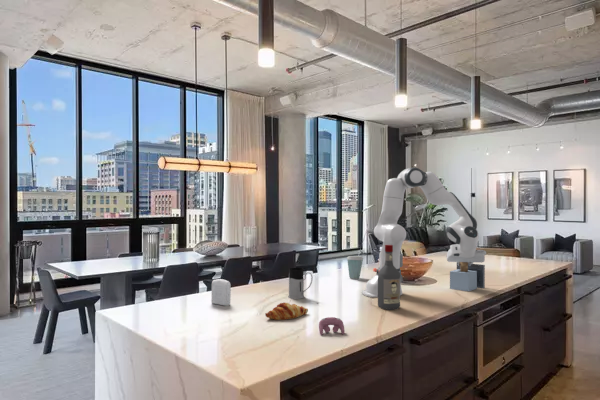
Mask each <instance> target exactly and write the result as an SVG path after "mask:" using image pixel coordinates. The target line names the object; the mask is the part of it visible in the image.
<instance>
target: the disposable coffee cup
mask: <svg viewBox="0 0 600 400" xmlns="http://www.w3.org/2000/svg"><path fill="white" fill-rule="evenodd" d="M346 260H347V269H348V275H349V279H352V280H359V279H360V277H361V271H362V266H363V260H364V258H363V256H361V255H348V256H347V258H346Z"/></svg>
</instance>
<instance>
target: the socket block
mask: <svg viewBox="0 0 600 400" xmlns="http://www.w3.org/2000/svg"><path fill="white" fill-rule="evenodd" d="M449 289H451V290H457V291H463V292H471V291H474V290H477V289H478V288H477V271H470V270H468V272H460V269H457V268H456V269H454V270H450V271H449Z"/></svg>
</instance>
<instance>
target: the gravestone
mask: <svg viewBox="0 0 600 400" xmlns="http://www.w3.org/2000/svg"><path fill="white" fill-rule="evenodd" d="M211 281H212V282H211V300H210V301H211V304H213V305H220V306H225V307H227V306H230V305H231V297H232V296H231V295H232V294H231V291H232V289H231V288H232V287H231V286H232V285H231V282H230V281H229V280H226V279H223V278H222V279H221V278H217V279H213V280H211Z"/></svg>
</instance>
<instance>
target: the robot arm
mask: <svg viewBox="0 0 600 400" xmlns="http://www.w3.org/2000/svg"><path fill="white" fill-rule="evenodd" d="M413 188H420V189H421V191H422V192H423V195H424V196H425V198H426V200H427V201H428V203H430V204H431V205H433V206H443V205H449V206H451V208H452V209H453V210H454V212H456V214H457V215H458V216H459V218H458V219H457V220H456V221H454V222H452V223H451V224H449V225H448V226H447V227H446V228H445V233H446V238H447V239H448V240H449V241H451V242H453V243H454V244H451V245H450V246H449V249H448V251H447V253H446V261H447V262H448V263H450V262H451V263H452V262H453V263H456V264H457V263H458V266H461V262H468V266H471V264H474V263H484V262H485V256H486V255H487V251H486V250H484V249H477V245H478V242H479V231H478V230H477V227H478V221H477V220H476V218H475V217H474V216H473V215H472V214H471V213H470V212H469V211H468V209H467V208H466V207H465V206H464V204H463V203H462V202H461V201H460V199H459V198H458V197H457V196H456V194H455V193H453V192H451V191H448V190H447V189H446V188H445V186H444V185H443V183H442V182H441V180H440V178H439V177H438V176H437V175H436V173H435V172H433V171H426V172H425V171H423V170H422V169H421V168H418V167H407V168H405V169H402V170H401V171H400V172H399V173H398V174H397V176H396V177H393V178H389V179H388V180H387V181H386V183H385V188H384V192H383V198H382V199H383V200H382V206H381V213H380V216H379V218H378V222H377V224H376V226H374V228H373V235H374V237H375V238H377V240H378V241H380V242H382V246H381V250H380V251H379V258H378V259H379V261H378V262H379V263H378V265H379V267H378V268H376V267H374V268H373V269H372V270H373V272H375V273H376V274H375V275H374V276H372V278H370V279H369V280H368V281H366V285H365V290H364V289H362V290H361V295H363V296H366V297H369V298H378V272H379V271H380V270H381V268H382V267H383V266H384V265H385V245H393V252H392V255H393V266H394V267H395V268H396V269H397V270H398V271H399V273H400V276H401V270H400V254H401V250H402V249H401V248H402V246H403V243H404V241H405V240H406V238H407V231H406V229H405V228H404V226H402V225H400V224H398V221H399V219H400V217H401V215H402V213H403V207H404V206H403V205H404V199H405V198H404V197H405V191H406V190H407V189H413ZM401 283H402V282H400V296H402V295H403V294H404V293H403V290H402V284H401Z"/></svg>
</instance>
